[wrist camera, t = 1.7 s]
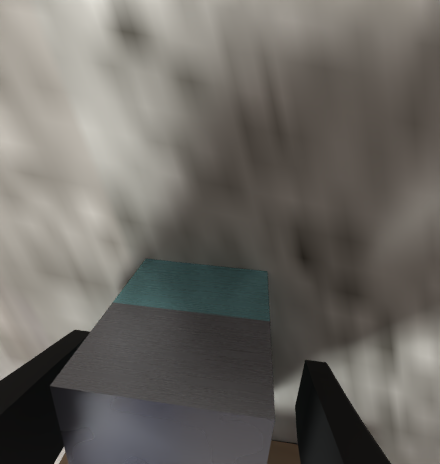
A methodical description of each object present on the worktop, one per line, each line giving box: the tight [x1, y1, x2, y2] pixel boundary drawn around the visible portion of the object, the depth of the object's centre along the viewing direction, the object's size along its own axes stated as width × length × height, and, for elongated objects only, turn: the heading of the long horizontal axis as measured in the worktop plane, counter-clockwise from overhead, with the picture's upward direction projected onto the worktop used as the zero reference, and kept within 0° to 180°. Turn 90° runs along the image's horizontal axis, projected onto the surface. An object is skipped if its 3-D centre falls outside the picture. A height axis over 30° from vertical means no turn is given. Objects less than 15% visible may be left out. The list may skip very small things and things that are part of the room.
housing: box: [50, 259, 275, 464], centre depth 9 cm, size 6×4×5 cm, turn 177°
